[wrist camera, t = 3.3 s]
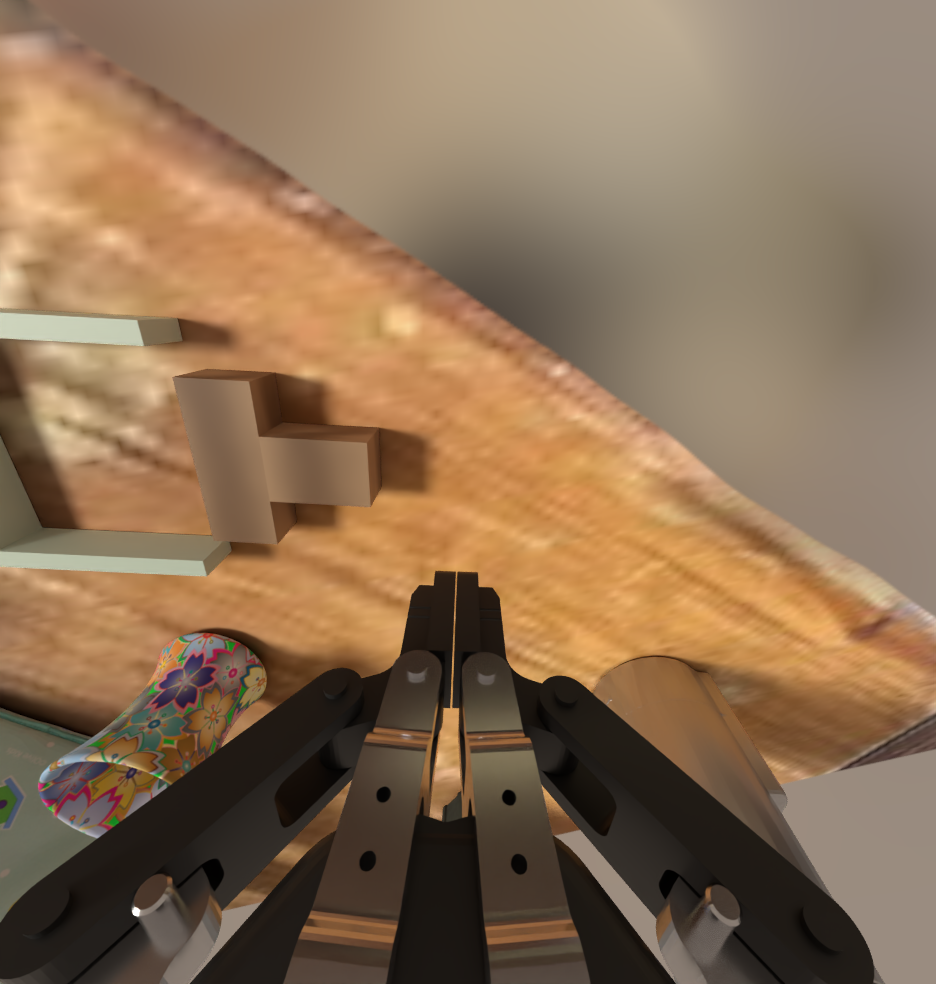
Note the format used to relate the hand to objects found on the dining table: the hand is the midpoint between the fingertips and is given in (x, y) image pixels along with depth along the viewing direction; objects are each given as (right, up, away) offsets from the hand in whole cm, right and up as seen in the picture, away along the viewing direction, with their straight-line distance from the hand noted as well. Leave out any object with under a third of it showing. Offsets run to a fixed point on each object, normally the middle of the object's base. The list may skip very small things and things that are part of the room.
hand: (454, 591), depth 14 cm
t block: (-10, +6, +12) cm, 17 cm away
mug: (-20, -12, +20) cm, 31 cm away
